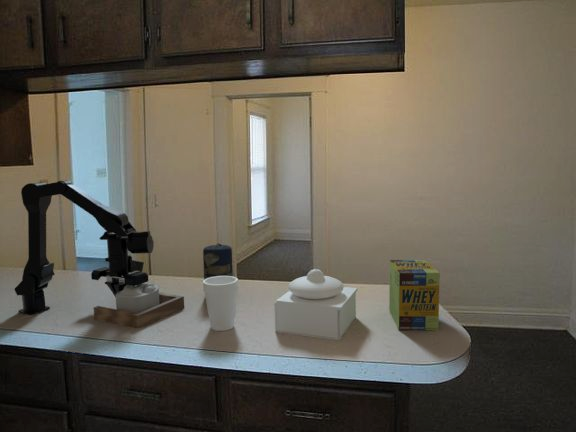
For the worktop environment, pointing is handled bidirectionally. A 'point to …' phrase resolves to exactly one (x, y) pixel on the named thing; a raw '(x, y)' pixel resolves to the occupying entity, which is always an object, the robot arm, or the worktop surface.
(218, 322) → the foam cup
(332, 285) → the white lidded box
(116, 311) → the bay
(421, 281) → the protein box
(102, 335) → the worktop surface
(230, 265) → the canister
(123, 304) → the lumpy-topped squat cylinder
